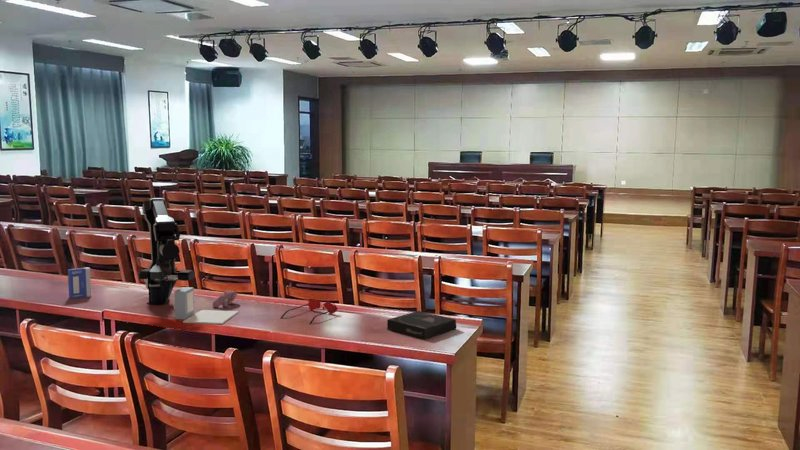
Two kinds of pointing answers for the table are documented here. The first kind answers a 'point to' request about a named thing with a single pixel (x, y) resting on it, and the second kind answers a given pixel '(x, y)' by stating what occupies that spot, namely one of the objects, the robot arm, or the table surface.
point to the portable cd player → (421, 325)
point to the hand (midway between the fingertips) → (167, 298)
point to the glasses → (316, 304)
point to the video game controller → (225, 298)
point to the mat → (211, 317)
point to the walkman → (79, 282)
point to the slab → (184, 302)
